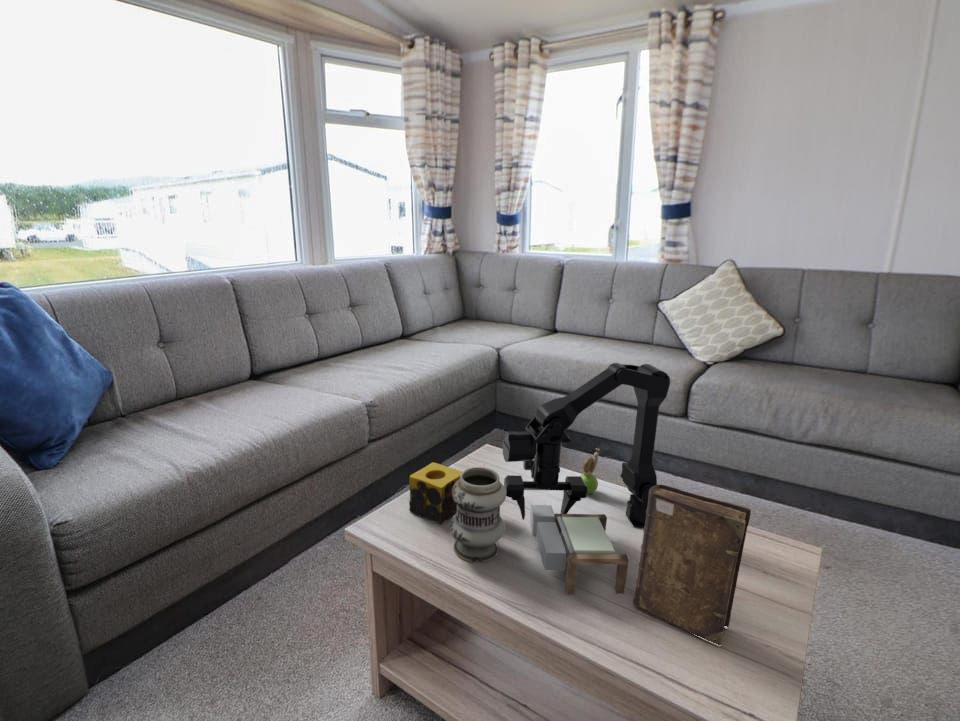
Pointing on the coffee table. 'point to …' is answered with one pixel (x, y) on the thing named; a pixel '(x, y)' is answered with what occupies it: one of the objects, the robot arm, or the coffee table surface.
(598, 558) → the walnut frame
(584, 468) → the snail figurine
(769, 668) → the coffee table surface
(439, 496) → the candle
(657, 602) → the book
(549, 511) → the slate grey block
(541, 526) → the trapdoor
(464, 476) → the apothecary jar
